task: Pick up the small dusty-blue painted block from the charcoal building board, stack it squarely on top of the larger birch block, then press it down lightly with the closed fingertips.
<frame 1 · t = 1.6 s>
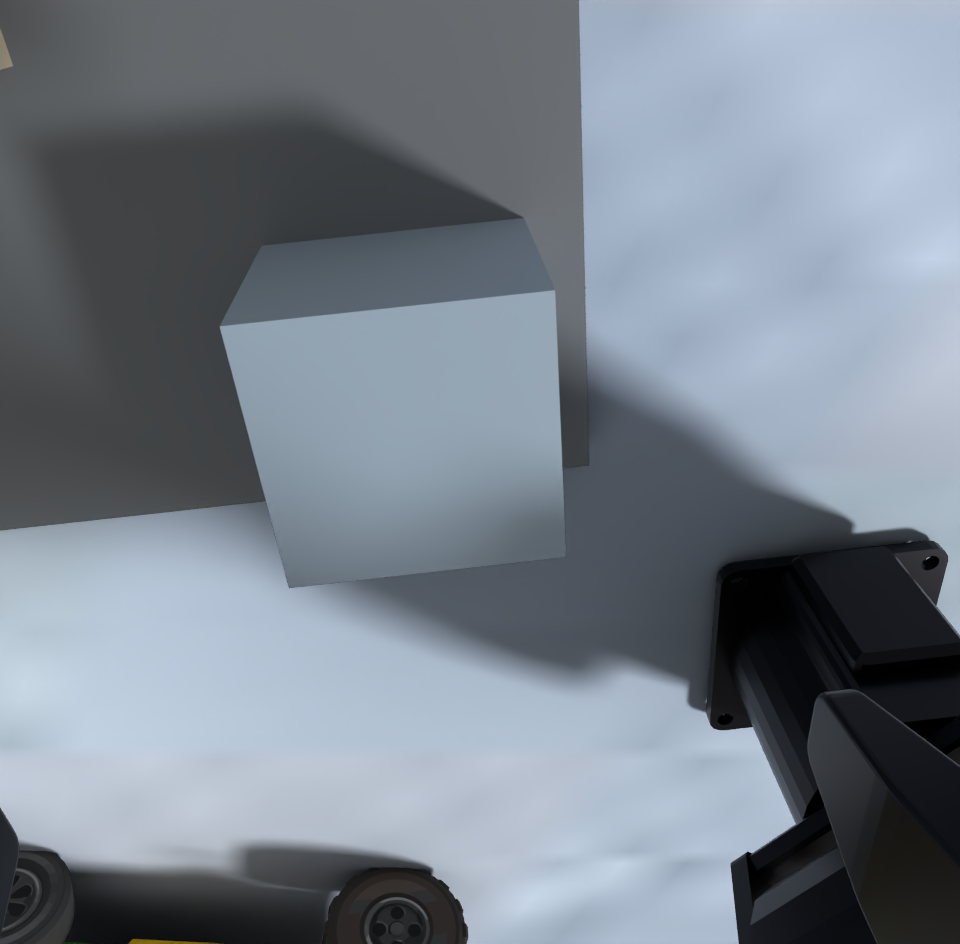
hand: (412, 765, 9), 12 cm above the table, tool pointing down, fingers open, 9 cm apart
motor vehicle: (222, 936, 33), on the table
block b: (410, 353, 19), point 1 cm above the table, touching board
board: (126, 107, 17), on the table
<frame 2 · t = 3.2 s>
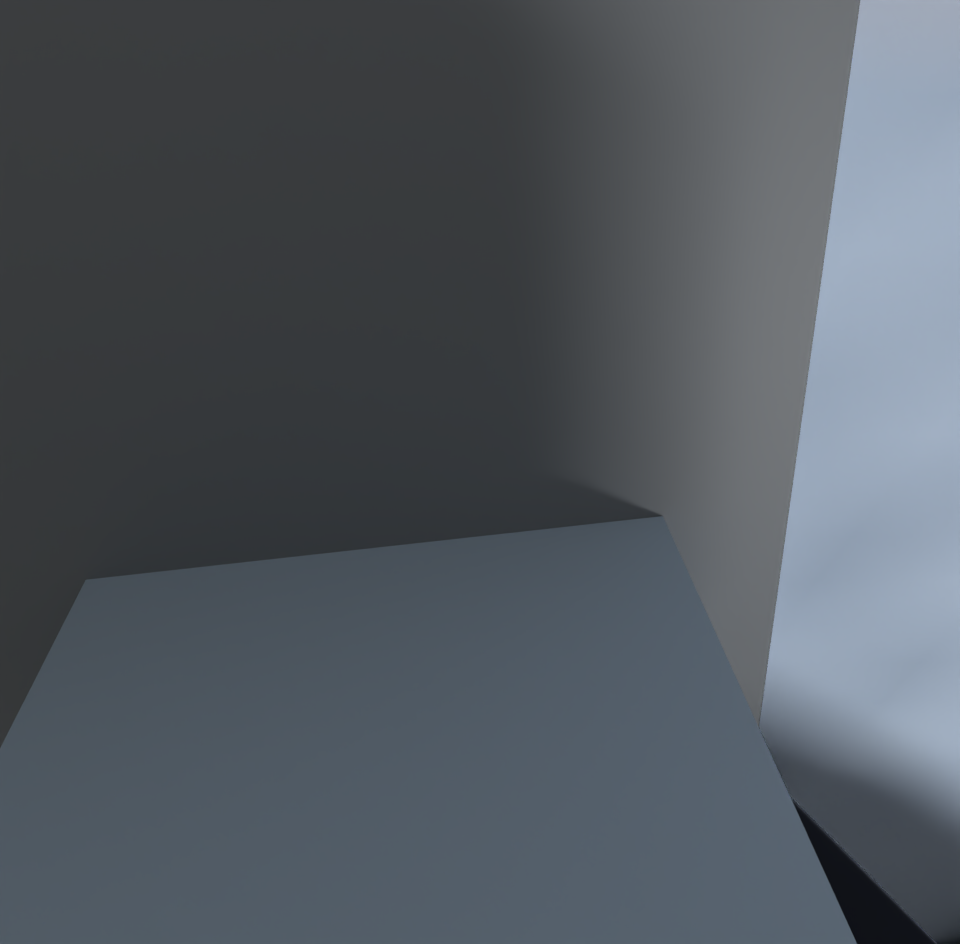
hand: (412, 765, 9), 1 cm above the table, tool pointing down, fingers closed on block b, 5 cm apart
block b: (412, 742, 9), point 1 cm above the table, touching board, gripper
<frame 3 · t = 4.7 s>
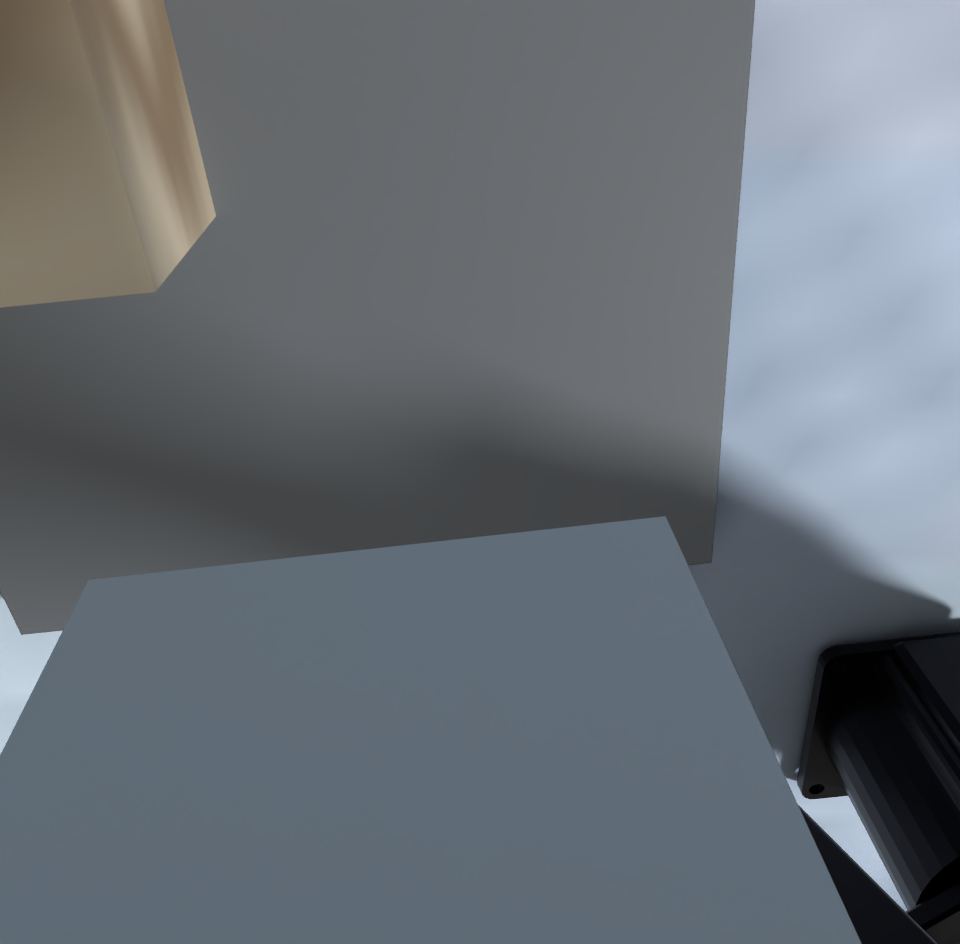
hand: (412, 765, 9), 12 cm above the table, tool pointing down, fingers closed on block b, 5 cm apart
block b: (414, 742, 9), point 12 cm above the table, touching gripper
board: (307, 244, 18), on the table
when the fingers open (7 cm above the table, at t = 6.5 s): block b drops 1 cm, resting on block a.
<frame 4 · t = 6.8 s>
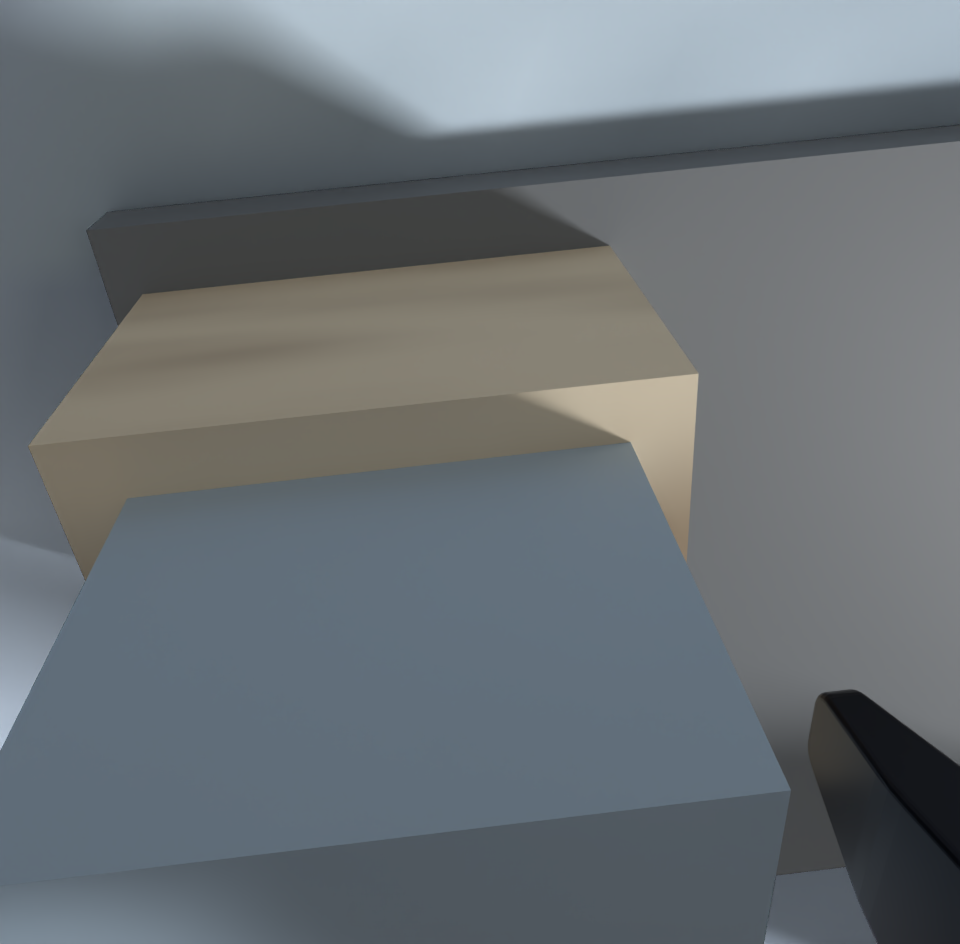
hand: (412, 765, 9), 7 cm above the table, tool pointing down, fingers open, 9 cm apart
block a: (407, 467, 14), point 1 cm above the table, touching block b, board
block b: (412, 653, 11), point 5 cm above the table, touching block a
board: (669, 597, 18), on the table
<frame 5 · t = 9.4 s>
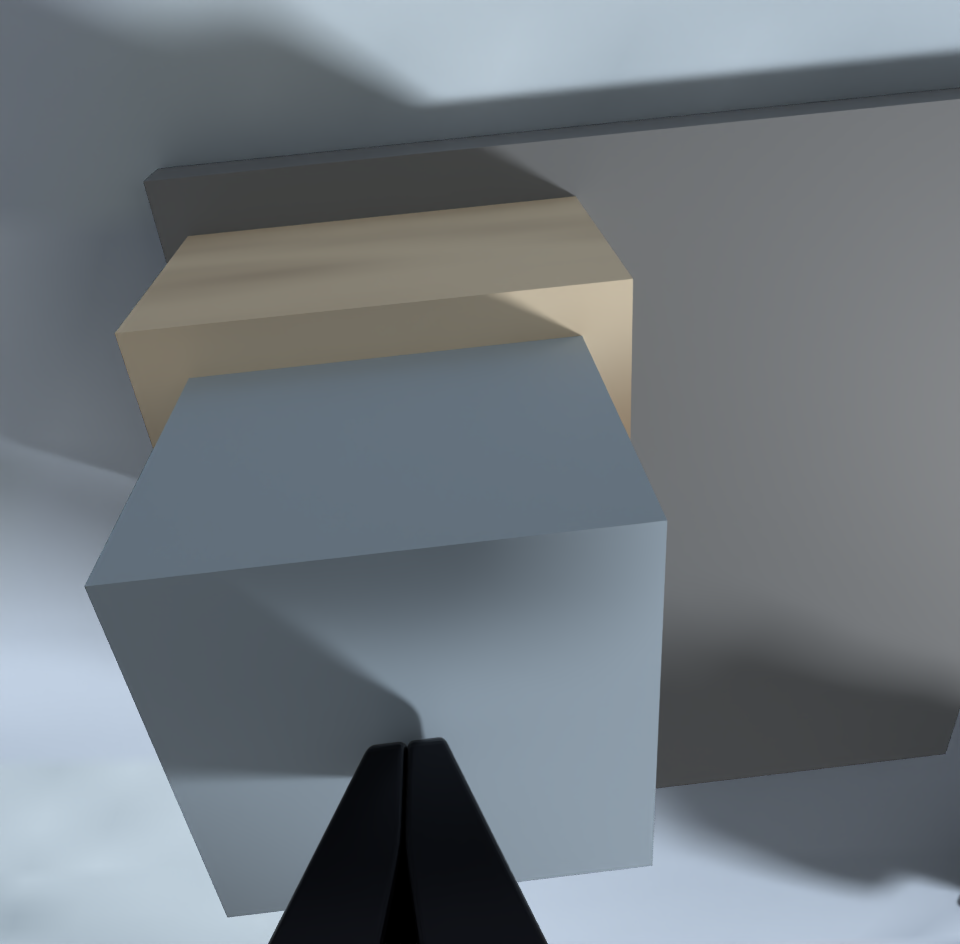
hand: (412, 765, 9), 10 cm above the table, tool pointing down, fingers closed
block a: (407, 390, 17), point 1 cm above the table, touching block b, board
block b: (411, 517, 13), point 5 cm above the table, touching block a
board: (636, 516, 20), on the table
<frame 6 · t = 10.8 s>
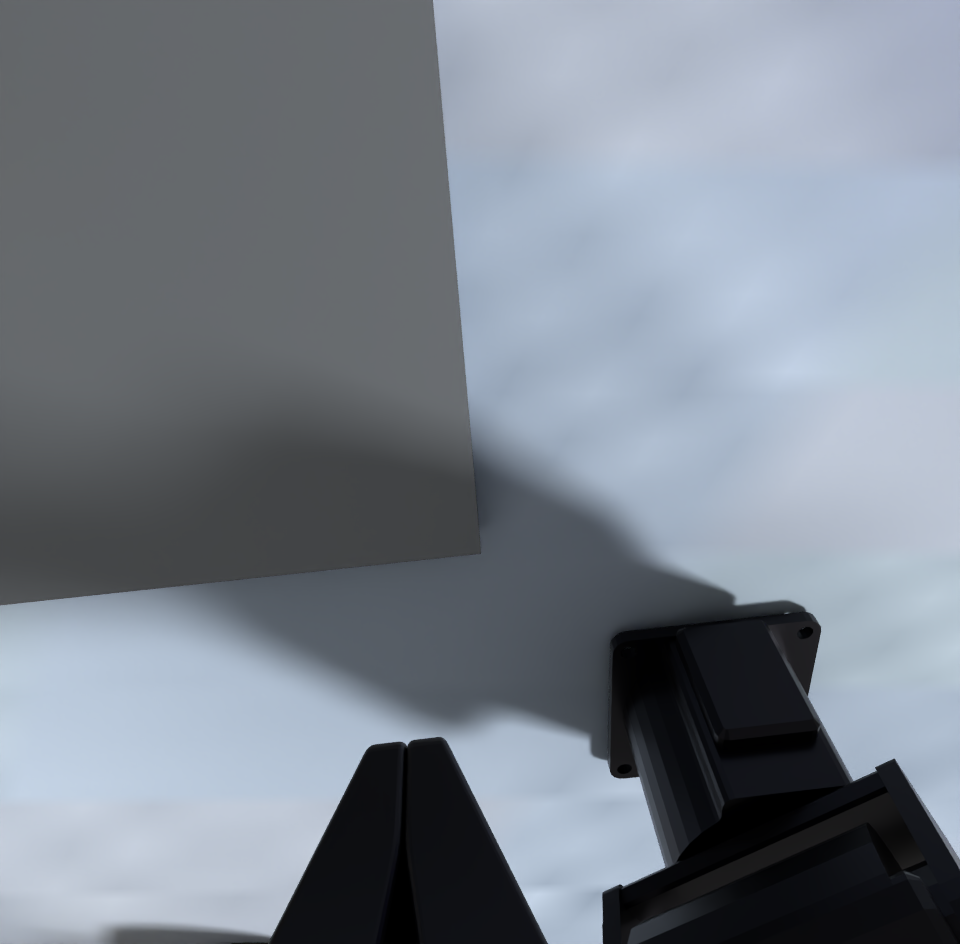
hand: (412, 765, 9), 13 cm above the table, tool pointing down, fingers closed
board: (39, 245, 18), on the table
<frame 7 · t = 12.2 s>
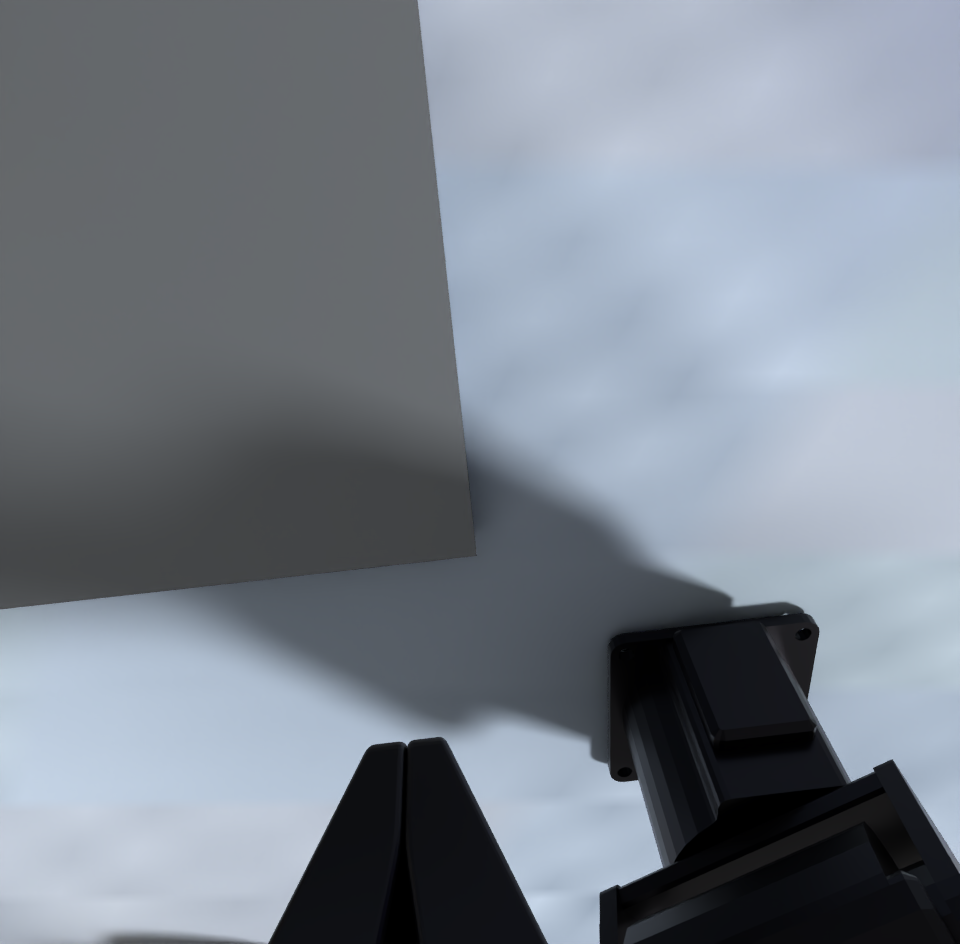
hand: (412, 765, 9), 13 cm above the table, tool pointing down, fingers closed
board: (37, 253, 19), on the table
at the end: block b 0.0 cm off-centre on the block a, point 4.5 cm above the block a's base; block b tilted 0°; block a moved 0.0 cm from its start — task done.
